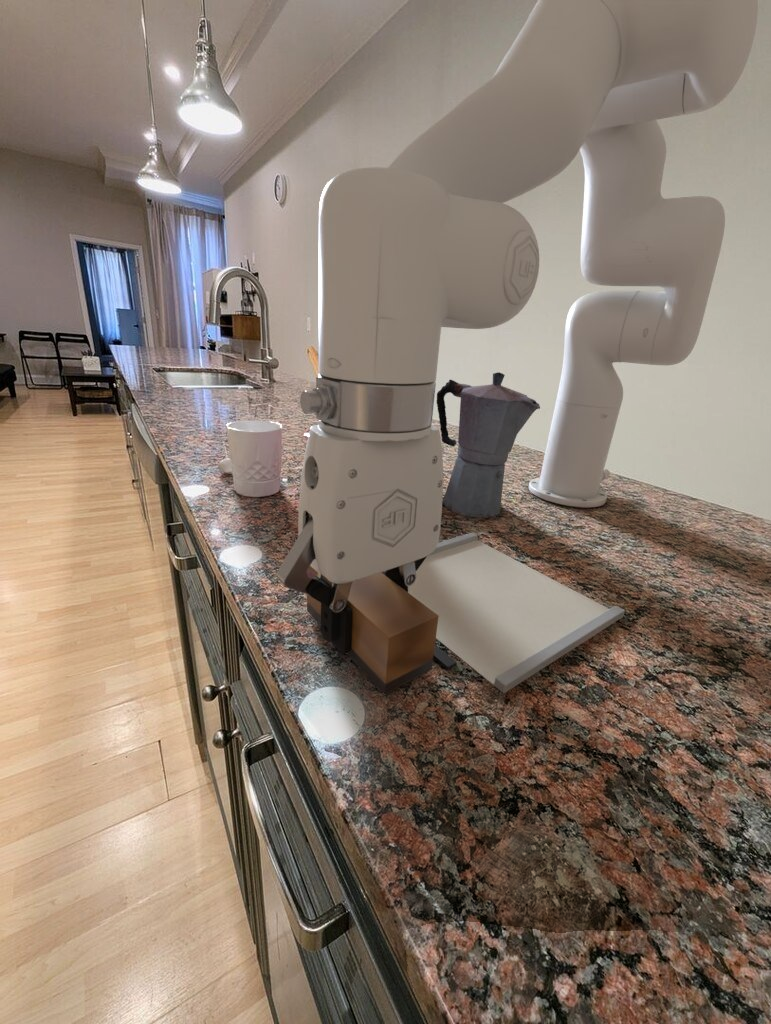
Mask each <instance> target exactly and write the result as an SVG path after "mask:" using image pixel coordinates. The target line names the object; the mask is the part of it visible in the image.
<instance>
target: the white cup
mask: <svg viewBox="0 0 771 1024" xmlns="http://www.w3.org/2000/svg"><path fill="white" fill-rule="evenodd" d="M225 429H226V433H227V434H226V435H227V444H228V445H227V446H228V452H229V458H230V461H231V469H232V479H233V489H234V491H235V493H236V494H238V495H240V496H243V497H249V498H261V497H262V498H263V497H268V496H272V495H275V494H277V493H278V492H279V491H280V489H281V473H282V463H283V462H282V461H283V424H281V423H279V422H275V421H269V420H262V419H261V420H259V419H258V420H257V419H248V420H247V419H245V420H237V421H236V420H235V421H231V422H229V423H227V424H226V427H225Z"/></svg>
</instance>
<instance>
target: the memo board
mask: <svg viewBox="0 0 771 1024" xmlns="http://www.w3.org/2000/svg"><path fill="white" fill-rule="evenodd" d="M478 536H479V535H478V534H476V533H475V532H468V533H466V534H461V535H459V536H456V537H452V538H449V539H445V540H441V541H439V542H438V545H437V547H436V549H435V550H434V551H433V552H432V553H431V554H429V555H428V556H427V557H426V559H425V560H424V561H423V563H422V564H421V565H420V567H419V568H418V570H417V571H416V581H415V582H414V584H413V585H411V586H408V593H409V594H411V595H412V596H413V597H415V598H416V599H417V600H419V601H420V602H421V603H422V604H424V605H425V606H426V607H428V608H429V609H430V610H432V611H433V612H434V613H436V614H437V615H438V616H439V617H438V625H437V633H436V640H437V641H438V642H440V643H441V644H442V645H443V646H444V647H445V648H447V649H448V650H449V651H451V653H452V654H454V655H455V656H456V657H458V658H459V659H461V660H462V661H463V662H464V663H466V664H467V665H468V666H469V667H471V668H472V669H473V670H474V671H475V672H476V673H478V674H479V675H480V676H482V677H483V678H484V679H485V680H486V681H488V682H489V683H490V684H492V685H493V686H494V687H495V688H496V689H497V690H499V691H500V692H501V693H502V694H505V693H507V692H508V691H510V690H512V689H514V688H515V687H516V686H518V685H520V684H521V683H522V682H524V681H526V680H527V679H529V678H531V677H532V676H533V675H535V674H537V673H538V672H539V671H541V670H543V669H545V668H547V666H549V665H551V664H552V663H554V662H556V661H557V660H558V659H560V658H562V657H563V656H565V655H566V654H568V653H569V652H571V651H572V650H574V649H575V648H577V647H579V646H580V645H582V644H583V643H585V642H586V641H588V640H590V639H591V638H593V637H595V636H596V635H597V634H599V633H600V632H602V631H604V630H605V629H607V628H608V627H610V626H611V625H613V624H615V623H616V622H617V621H619V620H621V619H622V618H623V617H624V615H625V612H626V609H624V608H621V607H620V606H618V605H613V606H612V607H611V608H608V607H607V606H604V605H603V604H601V603H599V602H597V601H595V600H593V599H591V598H589V597H587V596H585V595H584V594H582V593H580V592H578V591H576V590H574V589H573V588H570V587H568V586H566V585H564V584H563V583H560V582H558V581H557V580H555V579H553V578H551V577H549V576H547V575H546V574H543V573H542V572H540V571H537V570H535V569H534V568H532V567H530V566H528V565H526V564H524V563H522V562H520V561H518V560H516V559H514V558H513V557H511V556H509V555H507V554H505V553H504V552H502V551H499V550H498V549H496V548H493V547H491V546H489V545H488V544H486V543H484V542H482V541H480V540H478V538H479V537H478ZM385 572H386V571H385Z"/></svg>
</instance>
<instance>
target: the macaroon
mask: <svg viewBox="0 0 771 1024" xmlns="http://www.w3.org/2000/svg"><path fill="white" fill-rule="evenodd" d="M218 462H219V463H218V464H217V468H218V469H219V471H220V472H222V473H224V474H229V475H231V474H232V469H231V461H230V457H227V458H226V457H225V458H224V459H222V460H219V461H218ZM232 475H233V474H232Z"/></svg>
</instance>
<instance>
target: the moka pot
mask: <svg viewBox="0 0 771 1024" xmlns="http://www.w3.org/2000/svg"><path fill="white" fill-rule="evenodd" d="M505 376H506V375H505V374H504V373H502V372H499V371H498V372H494V373H492V384H483V385H470V384H466V383H459V382H457V381H456V380H453V379H449V380H448V381H447V382H446V383H445V384H444V385H443V386H442V387H441V389H440V390H438V391H437V393H436V407H437V413H438V419H439V426H440V427H439V431H440V437H441V443H442V444H445V445H448V446H451V447H453V448H454V447H455V446H456V445H457V443H458V445H457V446H458V447H457V457H456V459H455V461H454V465H453V469H452V472H451V474H450V478H449V481H448V484H447V487H446V491H445V493H444V496H443V499H442V504H443V505H444V506H445V508H447V509H448V510H449V511H451V512H453V513H455V514H458V515H461V516H464V517H469V518H492V517H494V516H497V515H499V514H501V507H502V497H503V487H504V479H505V467H506V463H507V462H508V458H509V454H510V453H511V452H512V449H513V448H514V447H513V446H514V444H515V441H516V439H517V436H518V434H519V433H520V431H521V430H522V429H523V428H524V426H525V425H526V423H527V422H528V421H529V419H530V418H531V416H532V415H533V414H534V413H535V411H537V410H540V409H541V406H540V403H538V402H537V400H536V399H533V398H530V397H529V396H528V395H526V394H524V393H522V392H519V391H516V390H514V389H511V388H508V387H506V386H503V385H502V383H503V380H504V378H505ZM449 393H450V394H452V396H453V397H456V398H460V403H459V406H460V407H459V421H458V436H457V437H458V439H457V440H456V439H452V438H450V437H449V431H448V428H447V426H448V424H447V423H448V421H447V419H448V418H447V411H446V408H447V407H446V402H445V396H446V395H447V394H449Z"/></svg>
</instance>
